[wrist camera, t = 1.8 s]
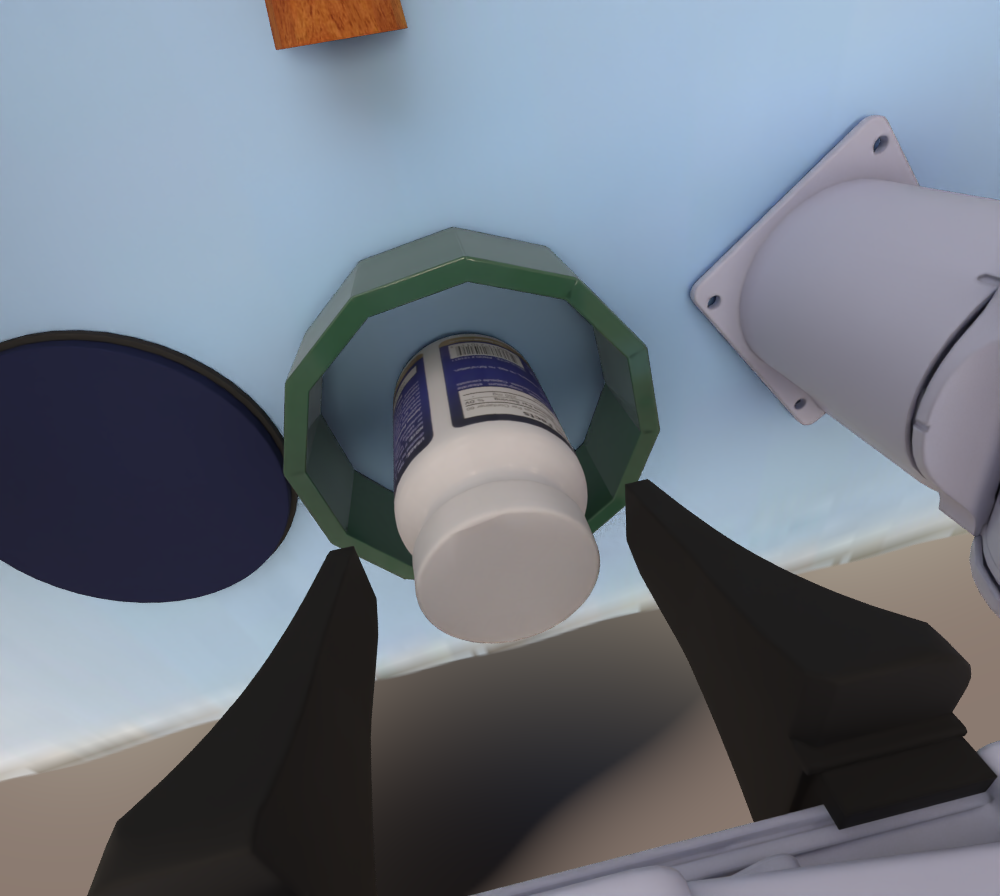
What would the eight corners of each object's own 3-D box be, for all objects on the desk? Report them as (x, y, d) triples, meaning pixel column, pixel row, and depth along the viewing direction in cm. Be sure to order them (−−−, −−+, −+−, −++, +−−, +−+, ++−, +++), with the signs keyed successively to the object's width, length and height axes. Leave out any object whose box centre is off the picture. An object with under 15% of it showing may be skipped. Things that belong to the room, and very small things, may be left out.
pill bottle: (448, 478, 23) (474, 685, 15) (362, 382, 20) (338, 577, 12) (561, 409, 22) (655, 592, 14) (489, 298, 19) (556, 448, 11)
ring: (675, 374, 22) (723, 422, 19) (479, 555, 26) (491, 621, 23) (446, 145, 17) (458, 157, 13) (238, 421, 20) (207, 483, 17)
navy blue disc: (357, 454, 22) (356, 467, 21) (207, 625, 26) (201, 641, 25) (10, 250, 16) (-8, 257, 15) (-116, 509, 20) (-136, 525, 19)
